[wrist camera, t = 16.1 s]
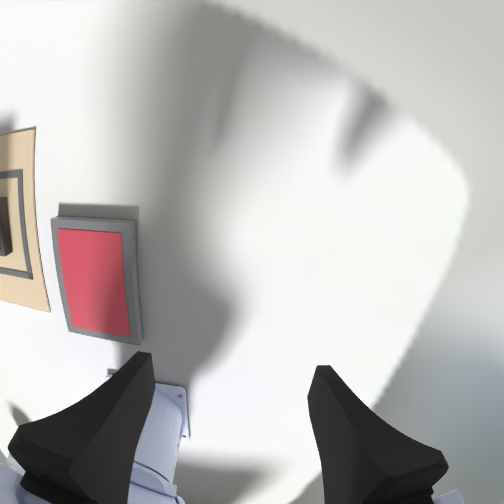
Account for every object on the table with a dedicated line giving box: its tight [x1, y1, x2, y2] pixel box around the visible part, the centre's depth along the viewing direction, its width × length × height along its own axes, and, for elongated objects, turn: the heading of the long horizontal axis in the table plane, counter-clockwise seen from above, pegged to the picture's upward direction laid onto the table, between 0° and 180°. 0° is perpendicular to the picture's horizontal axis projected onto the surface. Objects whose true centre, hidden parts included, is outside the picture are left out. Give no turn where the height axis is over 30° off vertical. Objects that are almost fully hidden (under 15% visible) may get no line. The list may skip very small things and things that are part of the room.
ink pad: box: [51, 216, 143, 345], centre depth 21 cm, size 10×7×1 cm
